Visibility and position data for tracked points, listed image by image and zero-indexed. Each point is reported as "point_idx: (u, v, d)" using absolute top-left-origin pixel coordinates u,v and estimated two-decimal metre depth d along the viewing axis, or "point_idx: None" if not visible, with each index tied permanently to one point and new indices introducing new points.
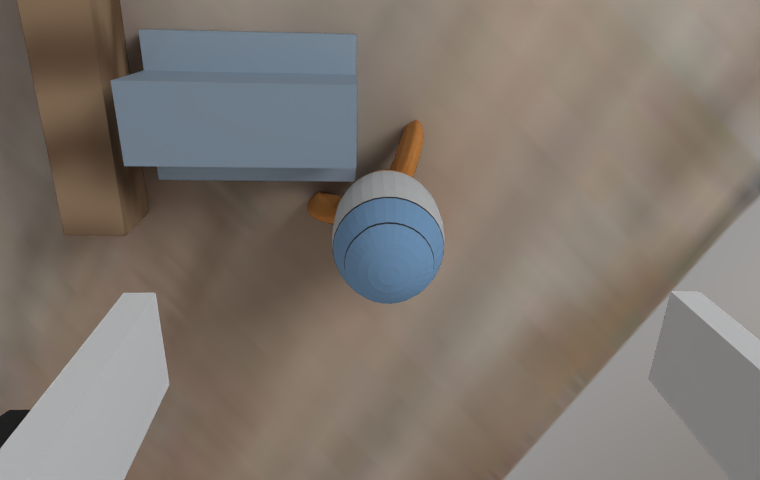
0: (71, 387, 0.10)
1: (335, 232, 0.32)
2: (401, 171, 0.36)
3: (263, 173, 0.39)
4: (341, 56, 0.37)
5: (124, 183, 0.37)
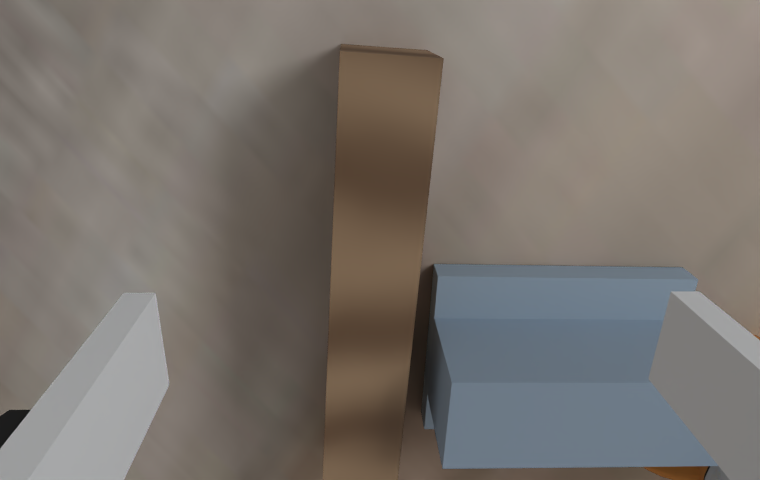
0: (71, 387, 0.10)
1: None
2: None
3: None
4: None
5: None
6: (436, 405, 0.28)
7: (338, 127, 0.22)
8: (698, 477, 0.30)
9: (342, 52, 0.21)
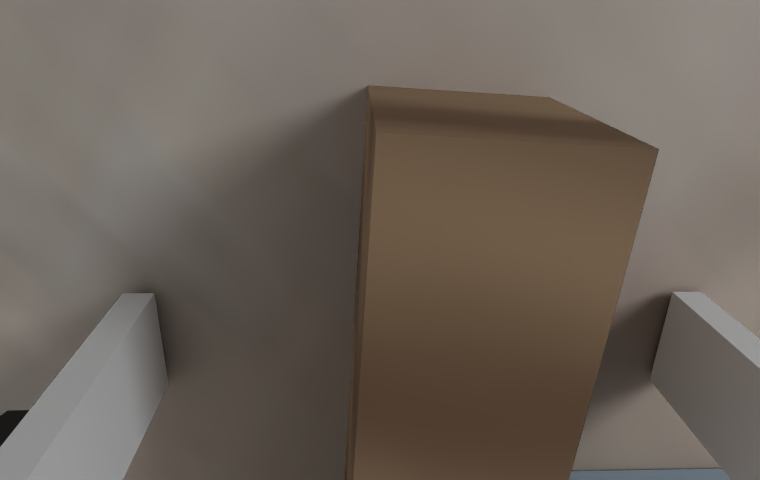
0: (70, 387, 0.10)
1: None
2: None
3: None
4: None
5: None
6: None
7: (368, 316, 0.09)
8: None
9: (383, 135, 0.08)
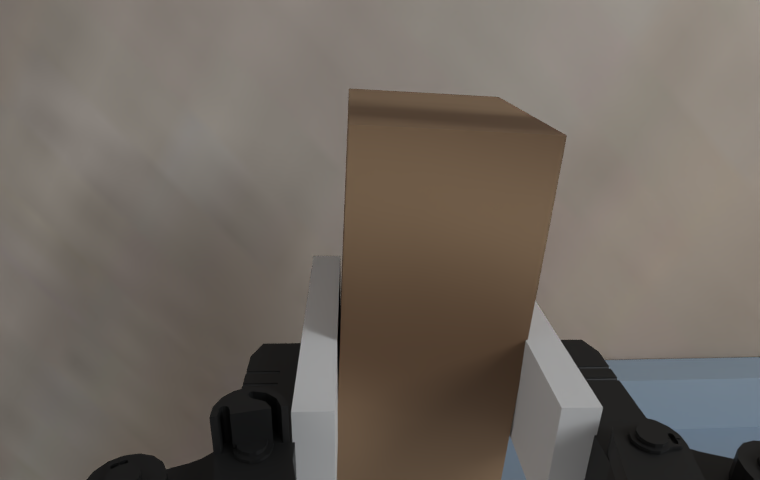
0: (322, 323, 0.12)
1: None
2: None
3: None
4: None
5: None
6: None
7: (346, 271, 0.11)
8: None
9: (354, 126, 0.10)
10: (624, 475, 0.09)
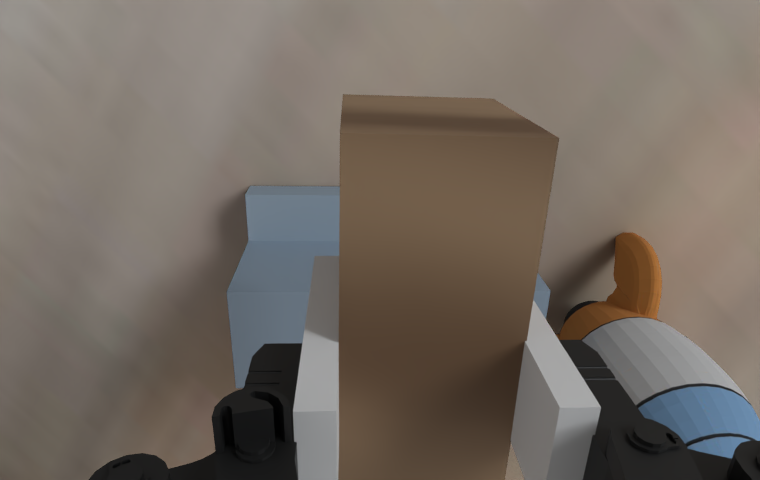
0: (323, 322, 0.12)
1: None
2: (646, 314, 0.27)
3: None
4: None
5: None
6: None
7: (342, 278, 0.11)
8: None
9: (345, 135, 0.10)
10: (622, 475, 0.09)
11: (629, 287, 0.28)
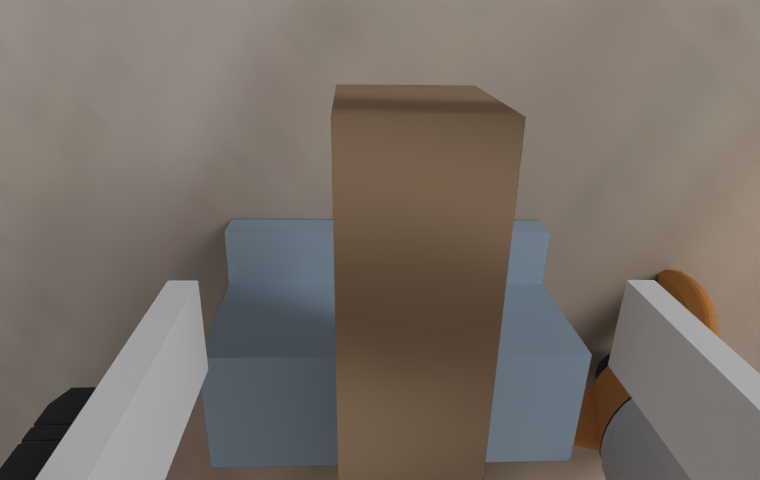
0: (132, 365, 0.11)
1: None
2: None
3: None
4: (524, 261, 0.24)
5: None
6: None
7: (336, 247, 0.12)
8: (596, 440, 0.24)
9: (336, 117, 0.11)
10: None
11: None
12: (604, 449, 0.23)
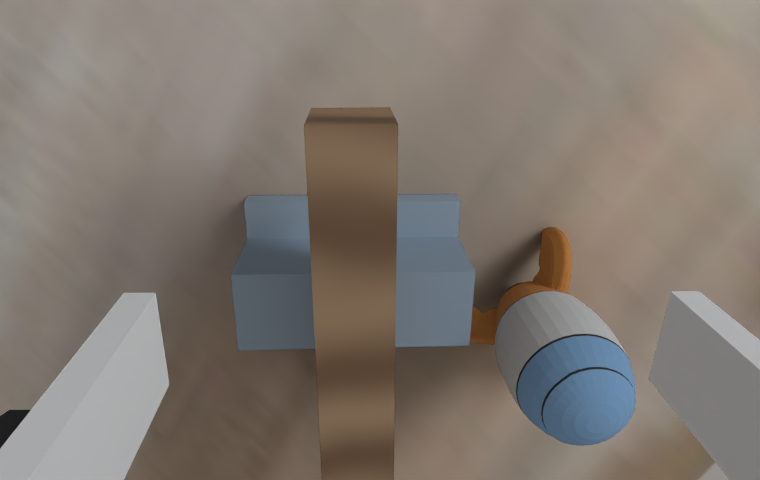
0: (71, 387, 0.10)
1: (520, 372, 0.30)
2: (558, 289, 0.35)
3: None
4: (444, 221, 0.36)
5: None
6: None
7: (308, 191, 0.24)
8: (493, 337, 0.36)
9: (306, 126, 0.23)
10: None
11: (547, 269, 0.36)
12: (495, 339, 0.35)
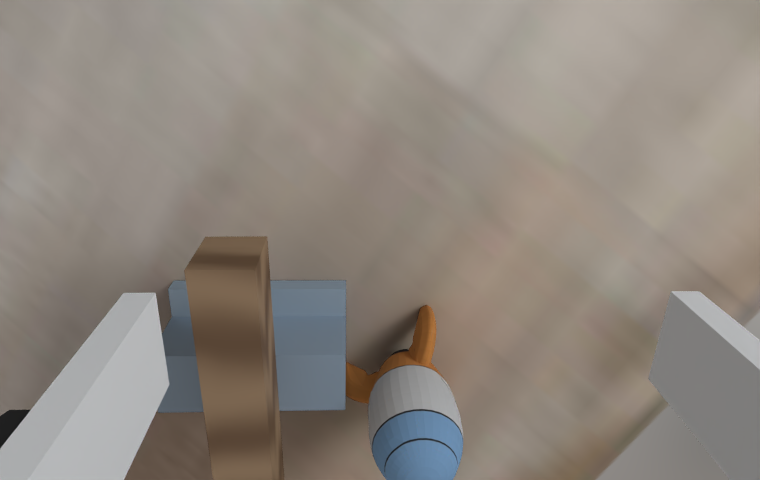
0: (71, 387, 0.10)
1: (373, 437, 0.38)
2: (420, 363, 0.43)
3: None
4: (333, 303, 0.45)
5: None
6: None
7: (191, 314, 0.32)
8: None
9: (186, 270, 0.31)
10: None
11: (416, 344, 0.44)
12: None
